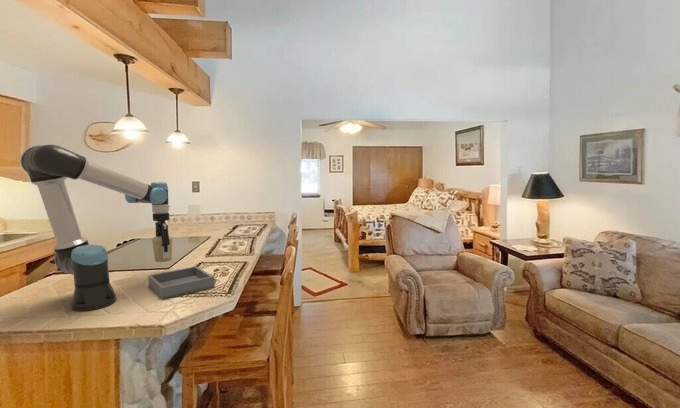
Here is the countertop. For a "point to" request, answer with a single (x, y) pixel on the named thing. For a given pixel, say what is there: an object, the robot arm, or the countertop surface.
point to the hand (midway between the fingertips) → (163, 256)
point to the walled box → (180, 282)
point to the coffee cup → (158, 249)
